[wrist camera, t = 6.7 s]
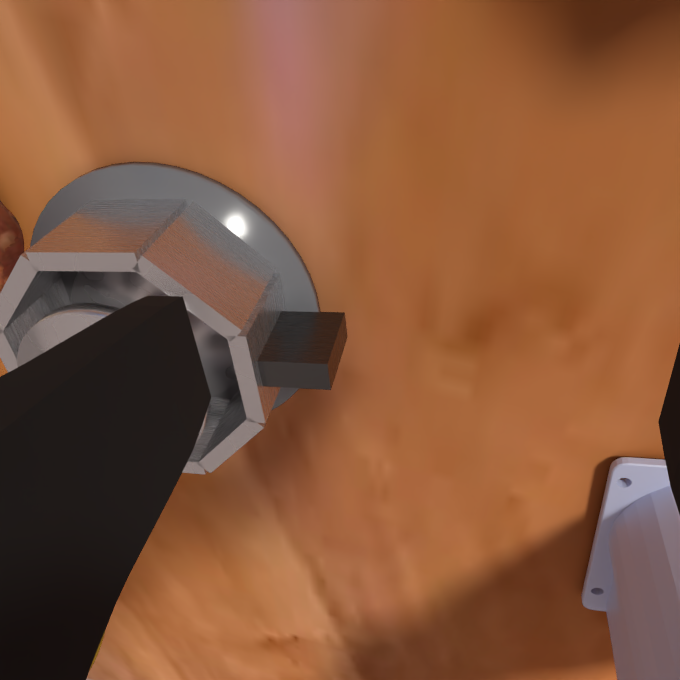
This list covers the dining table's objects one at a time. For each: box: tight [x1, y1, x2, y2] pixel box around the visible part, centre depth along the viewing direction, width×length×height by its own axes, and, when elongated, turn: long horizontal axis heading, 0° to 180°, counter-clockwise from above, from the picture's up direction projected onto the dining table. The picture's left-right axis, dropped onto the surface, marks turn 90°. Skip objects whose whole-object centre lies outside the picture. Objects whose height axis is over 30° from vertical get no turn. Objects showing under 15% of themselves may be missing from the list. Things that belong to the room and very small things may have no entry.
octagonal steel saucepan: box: [0, 198, 347, 474], centre depth 21 cm, size 9×11×4 cm
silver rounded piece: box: [17, 271, 237, 445], centre depth 20 cm, size 7×7×6 cm
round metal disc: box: [30, 162, 320, 410], centre depth 23 cm, size 11×11×1 cm
